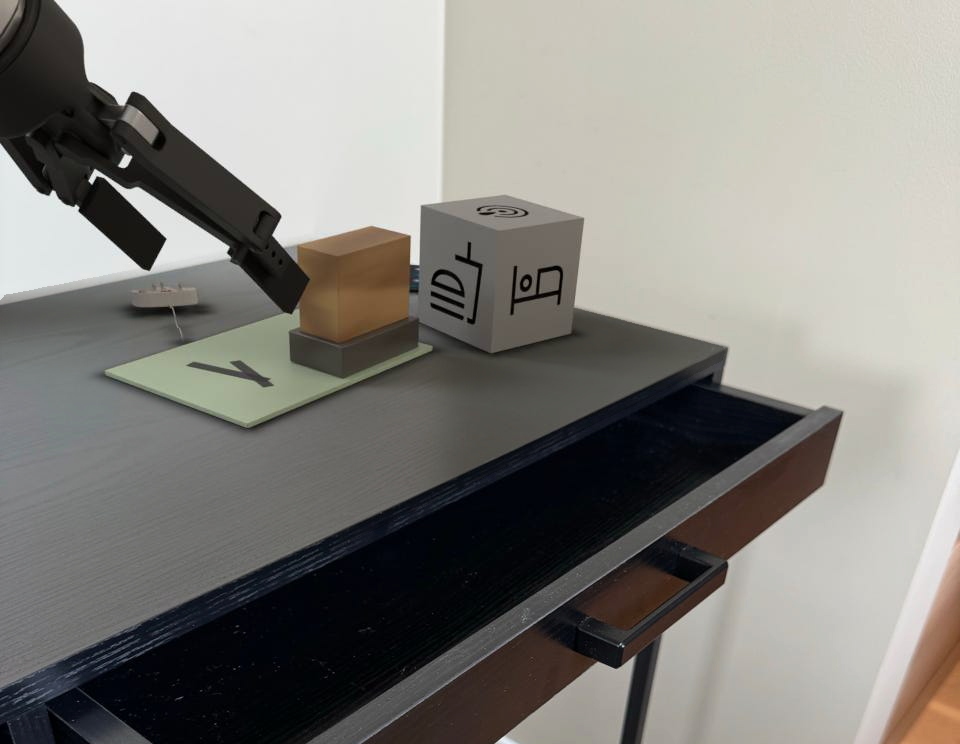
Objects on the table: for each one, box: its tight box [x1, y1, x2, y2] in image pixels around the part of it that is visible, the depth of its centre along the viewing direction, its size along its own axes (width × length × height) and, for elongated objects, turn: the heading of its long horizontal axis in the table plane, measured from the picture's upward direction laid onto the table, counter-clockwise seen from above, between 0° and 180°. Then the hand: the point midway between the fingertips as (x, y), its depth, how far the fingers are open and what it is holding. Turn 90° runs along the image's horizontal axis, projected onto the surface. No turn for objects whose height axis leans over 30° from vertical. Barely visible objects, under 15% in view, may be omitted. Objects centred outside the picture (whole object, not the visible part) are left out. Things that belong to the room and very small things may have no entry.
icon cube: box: [417, 194, 585, 354], centre depth 86 cm, size 10×10×10 cm
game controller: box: [130, 280, 199, 343], centre depth 85 cm, size 6×12×3 cm, turn 40°
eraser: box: [289, 225, 420, 379], centre depth 77 cm, size 6×10×9 cm, turn 147°
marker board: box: [104, 308, 433, 429], centre depth 79 cm, size 15×22×1 cm
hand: (223, 274), depth 67 cm, fingers open, 13 cm apart
